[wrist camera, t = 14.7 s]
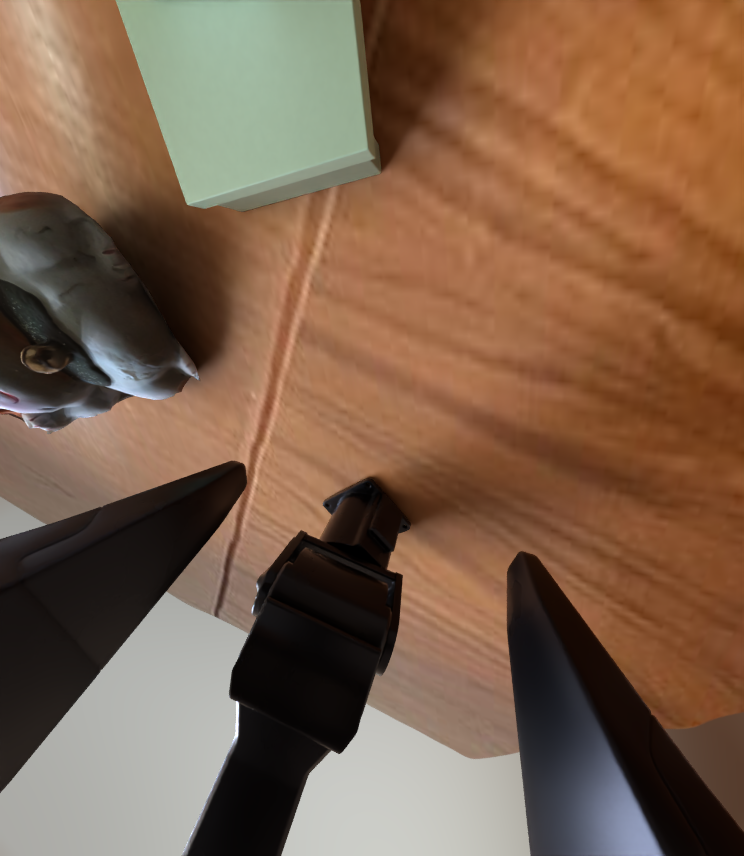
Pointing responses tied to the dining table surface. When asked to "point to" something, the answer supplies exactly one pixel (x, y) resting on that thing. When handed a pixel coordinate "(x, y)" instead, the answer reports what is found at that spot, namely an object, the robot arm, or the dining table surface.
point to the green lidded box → (256, 95)
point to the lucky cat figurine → (75, 319)
